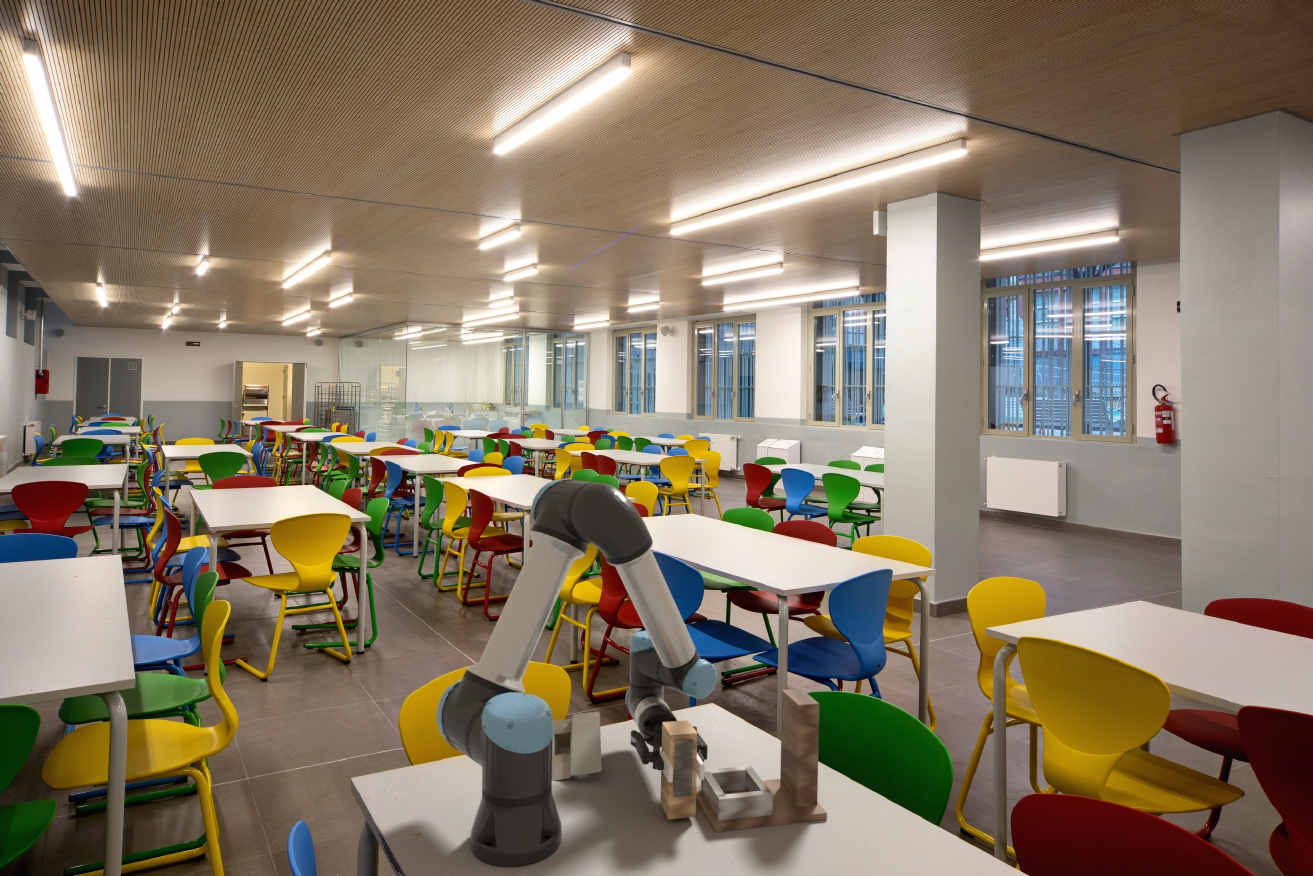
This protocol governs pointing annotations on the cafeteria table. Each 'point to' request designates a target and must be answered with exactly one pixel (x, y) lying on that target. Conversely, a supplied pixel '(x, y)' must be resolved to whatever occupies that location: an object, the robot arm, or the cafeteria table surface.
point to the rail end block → (679, 769)
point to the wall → (576, 746)
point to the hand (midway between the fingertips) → (686, 773)
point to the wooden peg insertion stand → (790, 799)
